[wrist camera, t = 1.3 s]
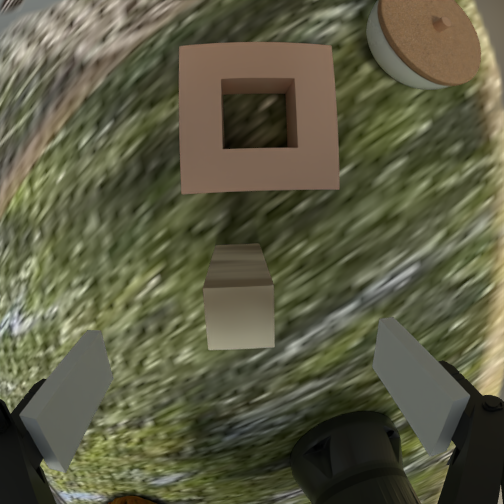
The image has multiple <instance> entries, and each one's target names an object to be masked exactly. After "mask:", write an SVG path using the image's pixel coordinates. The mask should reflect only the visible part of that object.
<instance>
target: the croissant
mask: <svg viewBox="0 0 504 504" xmlns="http://www.w3.org/2000/svg"><path fill="white" fill-rule="evenodd" d="M108 504H157V503H154V502H152V501H150V500H146V499H143V498H140V497H138V496H125V497H120V498H115V499H114V501H113V502H109V503H108Z"/></svg>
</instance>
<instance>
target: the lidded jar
mask: <svg viewBox="0 0 504 504" xmlns="http://www.w3.org/2000/svg"><path fill="white" fill-rule="evenodd" d="M366 34H367V41H368V45H369V48H370V50H371V53H372V55H373V57H374V58H375V60H376V62H377V63H378V64H379V66H380V67H381V68H382V69H383V70H384V71H385V72H386V73H387V74H388V75H389V76H391V77H392V78H394V79H395V80H397V81H398V82H400V83H402V84H404V85H407V86H409V87H413V88H417V89H425V90H434V89H442V88H447V87H450V86H456V85H460V84H463V83H466V82H468V81H470V80H471V79H472V78H473V77H474V76H475V75H476V73H477V71H478V69H479V66H480V62H481V48H480V43H479V39H478V36H477V33H476V31H475V29H474V27H473V25H472V23H471V21H470V19H469V18H468V16H467V15H466V14H465V12H464V11H463V10H462V8H461V7H460V6H459V5H458V4H457V3H456V2H455V1H454V0H377V2H376V3H375V5H374V6H373V8H372V10H371V12H370V14H369V18H368V22H367V30H366Z"/></svg>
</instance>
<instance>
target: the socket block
mask: <svg viewBox="0 0 504 504" xmlns="http://www.w3.org/2000/svg"><path fill="white" fill-rule="evenodd" d="M228 94H285V99H286V121H287V147H288V148H244V149H225V139H224V102H223V95H228ZM179 139H180V170H181V192H182V194H196V193H214V192H237V191H266V190H339V146H338V124H337V106H336V91H335V78H334V67H333V56H332V46H330V45H319V44H306V43H286V42H231V43H211V44H198V45H187V46H179Z"/></svg>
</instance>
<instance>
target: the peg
mask: <svg viewBox="0 0 504 504" xmlns="http://www.w3.org/2000/svg"><path fill="white" fill-rule="evenodd" d="M203 297H204V308H205V319H206V330H207V340H208V350H228V349H252V348H270V347H274V284H273V281H272V278H271V275H270V273H269V270H268V267H267V264H266V261H265V258H264V255H263V253H262V250H261V247H260V244H259V243H253V244H229V245H215V249H214V252H213V255H212V259H211V262H210V265H209V269H208V272H207V276H206V279H205V283H204V286H203Z"/></svg>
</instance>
